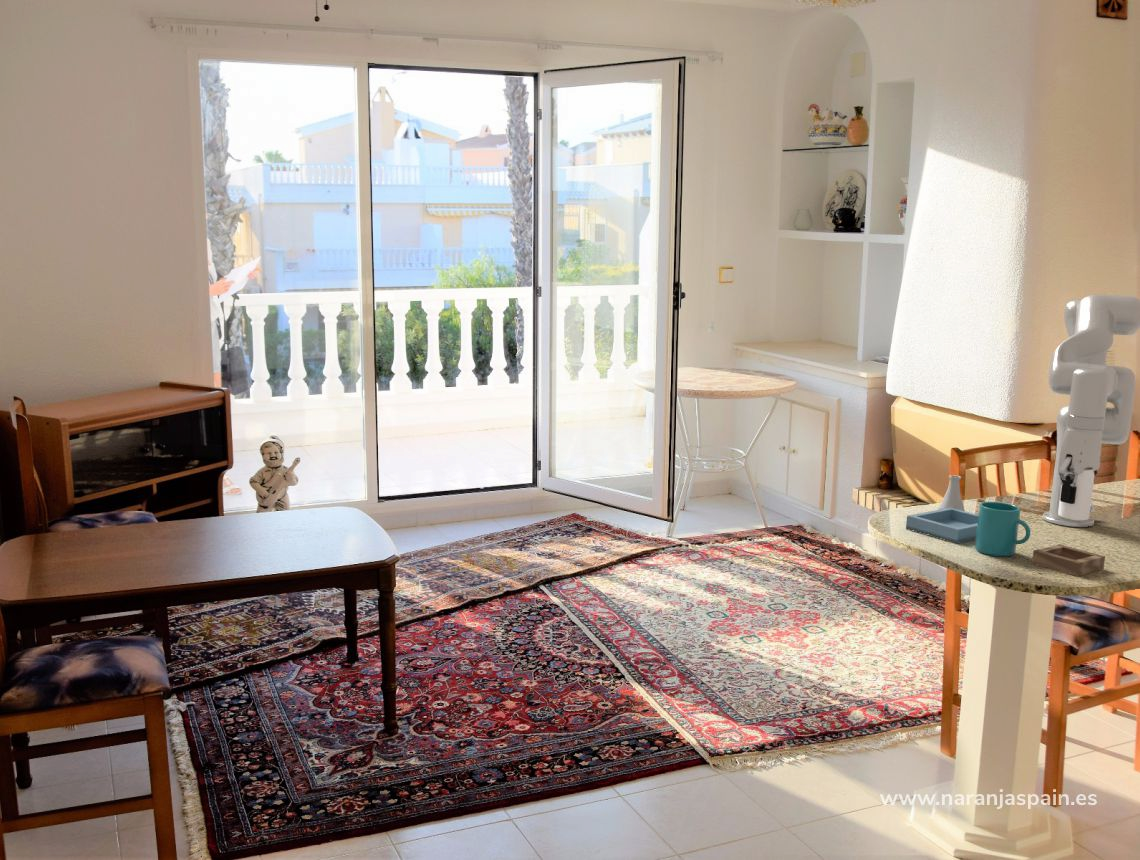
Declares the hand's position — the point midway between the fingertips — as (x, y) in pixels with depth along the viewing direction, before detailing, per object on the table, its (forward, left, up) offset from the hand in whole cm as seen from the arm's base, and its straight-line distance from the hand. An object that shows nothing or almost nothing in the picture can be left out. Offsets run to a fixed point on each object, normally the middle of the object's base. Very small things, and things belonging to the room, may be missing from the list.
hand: (1075, 499), depth 245 cm
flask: (-20, -45, -16) cm, 51 cm away
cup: (+5, -14, -16) cm, 21 cm away
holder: (0, 0, -16) cm, 16 cm away
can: (0, 0, -4) cm, 4 cm away
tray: (-2, -32, -16) cm, 35 cm away
